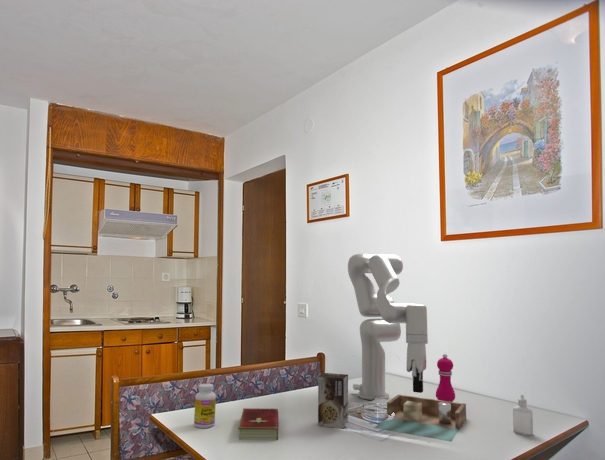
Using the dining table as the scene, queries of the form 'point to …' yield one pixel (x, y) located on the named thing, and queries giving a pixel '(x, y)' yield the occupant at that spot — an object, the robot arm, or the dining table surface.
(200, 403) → the supplement bottle
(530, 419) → the eye dropper bottle
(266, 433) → the hardcover book
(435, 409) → the cubby
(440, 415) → the steel peg
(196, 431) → the dining table surface
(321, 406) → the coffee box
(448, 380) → the pepper mill
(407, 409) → the birch block
